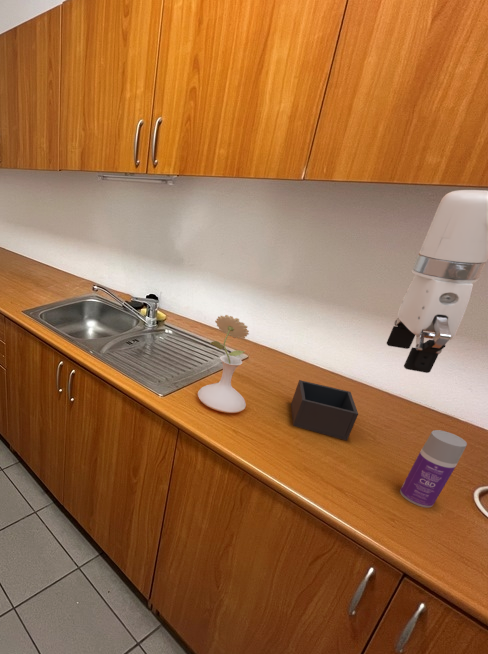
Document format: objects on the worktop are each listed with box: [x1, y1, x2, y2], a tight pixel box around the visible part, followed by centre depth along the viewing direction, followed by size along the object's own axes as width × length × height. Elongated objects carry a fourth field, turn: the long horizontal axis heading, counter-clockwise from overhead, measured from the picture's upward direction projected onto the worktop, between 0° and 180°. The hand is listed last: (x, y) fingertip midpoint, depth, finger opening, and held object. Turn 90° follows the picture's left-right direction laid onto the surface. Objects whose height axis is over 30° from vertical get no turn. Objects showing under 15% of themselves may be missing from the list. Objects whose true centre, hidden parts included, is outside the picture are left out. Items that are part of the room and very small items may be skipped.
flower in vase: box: [197, 314, 250, 414], centre depth 103 cm, size 13×11×25 cm
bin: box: [290, 379, 359, 441], centre depth 98 cm, size 10×10×8 cm
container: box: [399, 429, 468, 509], centre depth 75 cm, size 5×5×15 cm
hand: (406, 357), depth 72 cm, fingers open, 9 cm apart
